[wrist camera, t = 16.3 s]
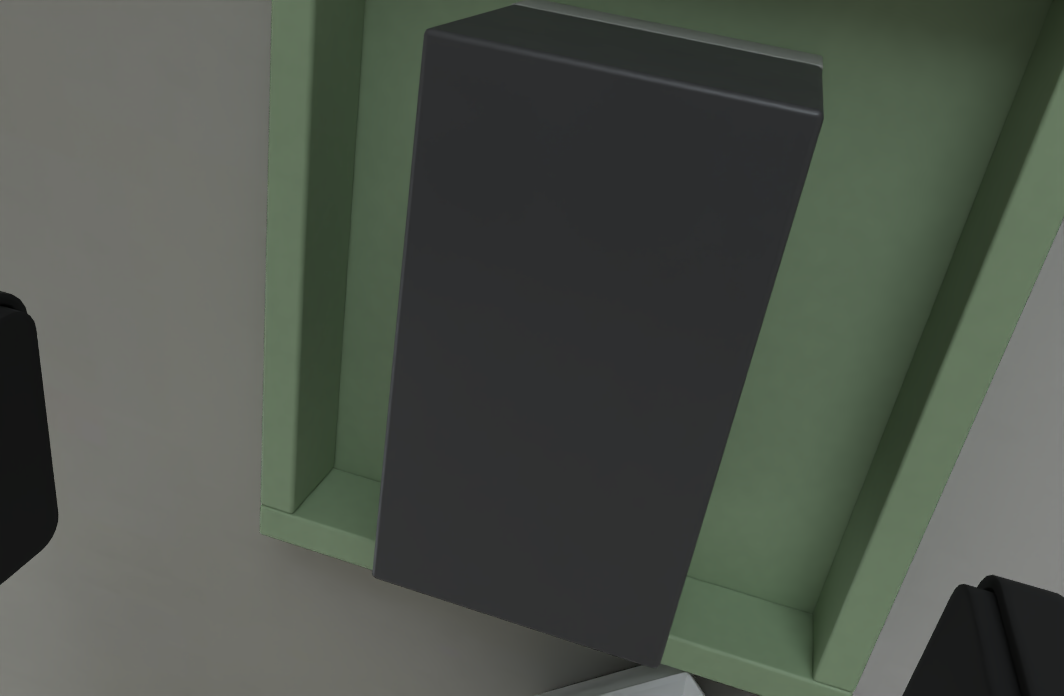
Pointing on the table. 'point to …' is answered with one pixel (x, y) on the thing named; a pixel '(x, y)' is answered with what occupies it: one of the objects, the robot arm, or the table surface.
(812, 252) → the tray
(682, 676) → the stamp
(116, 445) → the table surface
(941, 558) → the table surface
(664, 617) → the eraser
